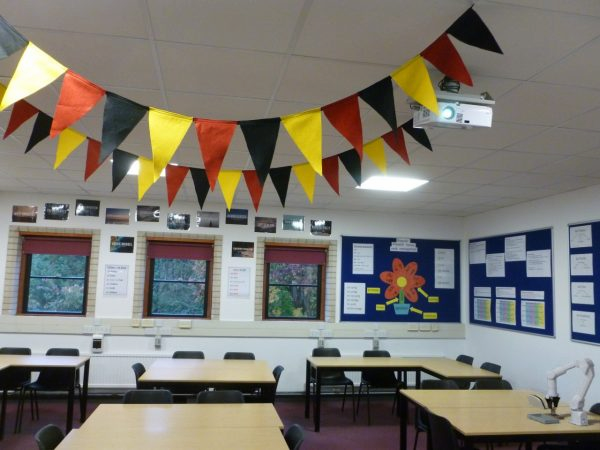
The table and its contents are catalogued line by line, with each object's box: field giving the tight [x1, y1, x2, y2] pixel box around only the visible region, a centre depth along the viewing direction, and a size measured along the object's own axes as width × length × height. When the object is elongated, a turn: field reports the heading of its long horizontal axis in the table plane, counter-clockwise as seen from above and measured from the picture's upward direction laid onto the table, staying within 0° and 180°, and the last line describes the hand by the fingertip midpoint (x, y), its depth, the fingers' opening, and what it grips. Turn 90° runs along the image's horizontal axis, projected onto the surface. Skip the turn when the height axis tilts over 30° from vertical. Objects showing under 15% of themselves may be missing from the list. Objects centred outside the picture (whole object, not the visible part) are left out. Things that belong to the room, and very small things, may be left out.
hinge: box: [527, 393, 550, 410], centre depth 370 cm, size 17×5×10 cm, turn 9°
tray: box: [526, 412, 560, 425], centre depth 330 cm, size 16×12×2 cm
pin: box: [550, 406, 557, 416], centre depth 338 cm, size 4×4×7 cm
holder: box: [544, 412, 565, 421], centre depth 337 cm, size 9×9×2 cm
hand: (552, 408), depth 338 cm, fingers open, 7 cm apart
